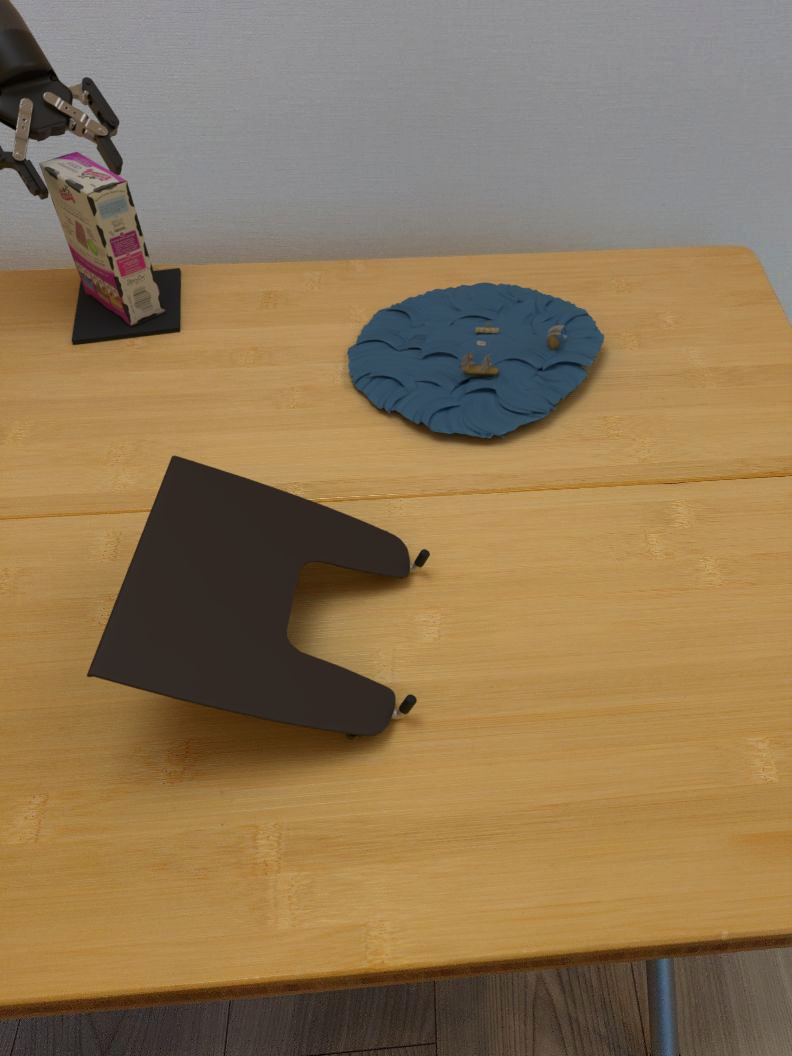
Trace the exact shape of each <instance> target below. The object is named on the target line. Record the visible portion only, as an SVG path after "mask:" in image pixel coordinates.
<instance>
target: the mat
mask: <svg viewBox="0 0 792 1056" xmlns="http://www.w3.org/2000/svg"><path fill="white" fill-rule="evenodd" d="M153 271H154V274H155V277H156V281H157V284H158V288H159V291H160V294H161V297H162V301H163V304H164V307H165V310H166V311H165V312H164V313H162V314H160V315H158V316H155V317H153V318H150V319H148V320H145V321H143V322H141V323H138V324H136V325H133V326H131V325H129V324H128V323H126V322H125V321H124V320H122V319H121V318H120V317H118V316H117V315H116V314H114V313H113V312H112V311H110V310H109V309H107V308H106V307H105V306H103V305H102V304H100V303H99V302H98V301H96V300H95V299H93V298H92V297H91V296H89V295H88V294H87V293H86V292H85V290H84V287H83V284H82V281H81V280H80V281H79V282H80V283H79V288H78V294H77V300H76V301H77V302H76V308H75V315H74V322H73V328H72V334H71V344H72V345H82V344H83V345H84V344H90V343H98V342H99V343H100V342H105V341H106V342H107V341H115V340H122V339H129V338H132V339H133V338H138V337H146V336H154V335H156V336H157V335H164V334H172V333H179V332H181V299H182V298H181V297H182V296H181V295H182V294H181V293H182V289H181V288H182V271H181V268H180V267H176V268H175V267H174V268H165V269H157V270H153Z"/></svg>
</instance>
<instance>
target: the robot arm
mask: <svg viewBox="0 0 792 1056" xmlns="http://www.w3.org/2000/svg"><path fill="white" fill-rule="evenodd" d="M74 100H78V101H79V102H80V103H81V104H82V105H83V106H88V108H89V109H90V111H91V112H92V114H93V115H94V117H95V118H96V120H97V121H98V122H97V121H96V120H94V119H92V118H90V117H89V115H88V114H87V113H86V112H84V111H83V110H81V109H79V108H77V107H75V106H73V101H74ZM0 123H1V124H2V125H4V126H6V127H8V128H10V129H12V130H13V131H15V135H14V141H13V148H12V151H6V150H5V151H4V149H3V148H2V146H1V144H0V171H2V170H5V169H11V170H14V171H15V172H16V173H17V174H18V175H19V177H20V179H21V180H22V183H23V184H24V185H25V187H26V188H27V190H28V192H29V194H31V195H32V196H33V197H36V196H37V197H38V198H39V199H40V200H41V201H43V200H46V199H49V195H50V193H49V190H48V187H47V184H46V183H45V181H44V180H43V178H42V177H41V176H40V173H39V172H38V171H37V169H36V167H35V166H34V163H33V162H32V161H31V159H29V158H28V159H27V153H28V148H29V141H30V140H33V141H37V142H38V143H39V142H42V141H45V140H47V139H49V138H50V137H60V136H63V135H65V134H66V132H69V133H71V134H73V135H74V136H76V137H78V138H85V139H86V140H88V141H90V142H91V143H93V144H95V145H96V150H97V151H98V154H99V156H100V157H101V159H102V160H103V162H104V163H105V165H106V167H107V169H108V170H109V171H111V172H113V173H114V174H116V175H118V176H121V174H122V170H123V165H124V161H123V157H122V155H121V154H120V153H119V151H118V149H117V147H116V145H115V144H114V142H113V140H112V137H115V136H117V134H118V128H119V126H120V119H119V118H118V116H117V114H116V113H115V111H114V110H113V108H112V107H111V106H110V103H108V100H107V99H106V98H105V97H104V95H103V94H102V92H101V90H100V89H99V87H98V86H97V85H96V83H95V82H94V80H93V79H92V78H90V77H88V76H85V77H83V78H82V79H81V82H80V83H78V84H75V85H71V86H67V85H65V84H64V83H63V82H62V81H61V80H60V79H59V77H58V74H57V73H56V71H55V69H54V67H53V66H52V64H51V63H50V61H49V59H48V57H46V54H45V53H44V51H43V50H42V48H41V46H40V44H39V43H38V41H37V39H36V37H35V36H34V35H33V32H32V31H31V30H30V28H29V26H28V24H27V22H26V21H25V19H24V18H23V16H22V15H21V13H20V12H19V10H18V8H16V6H15V5H14V4H13V2H11V0H0Z"/></svg>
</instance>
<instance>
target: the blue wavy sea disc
mask: <svg viewBox="0 0 792 1056" xmlns="http://www.w3.org/2000/svg"><path fill="white" fill-rule="evenodd" d="M604 340H605V334H604V333H602V331H601V330H600V329H599V327H598V326H597V321H596V320H594V318H593V317H592V316H591V315H590V314H589V312H588V311H587V309H584V308H581V307H578V306H577V305H576V303H572V302H570V300H564V299H563V298H561V297H559V296H558V297H555V296H553V295H551V294H546V293H543V292H540V291H538V290H537V289H532V288H530V287H522V286H520V285H517V284H511V283H509V284H506V283H501V282H500V283H499V284H495V283H491V282H477V283H473V284H472V285H471V284H469V285H468V284H461V285H458V286H456V287H454V286H450V287H446V288H435V289H433V290H427V291H426V292H424V293H422V294H418V295H416V296H410V297H407V298H405V299H404V300H402V301H401V302H397V303H395V304H391V306H389V307H385V308H382V309H379V310H378V311H376V313H374V314H373V315H372V318H371V319H370V320H369V322H368V323H367V324H364V326H363V327H362V329H361V331H360V334H358V335H357V336H356V342H355V344H353V345H351V346H350V347H348V348H347V357H348V363H347V367H348V371H349V377H353V378H352V381H351V383H352V384H353V385H354V386H355V387H356V389H357V390H359V392H363V393H364V394H365V396H366V397H367V399H368V400H369V401H370V402H371V403H372V404H373V405H374V407H377V408H378V410H382V409H383V408H384V409H385V411H386V413H387V415H390V414H391V411H396V412H397V413H399V414H401V415H402V416H403V417H405V418H406V419H408V420H409V421H410V422H412V423H415V424H417V425H419V424H420V423H421V422H422V423H423V425H425V426H426V427H427V428H429V430H430V431H431V432H436V433H444V434H447V435H452V434H455V433H457V434H461V435H467V436H472V437H478V438H481V439H484V438H487V439H492V437H493V436H494V435H495V436H497V437H500V438H502V439H503V438H505V436H504V435H505V434H507V433H509V432H513V431H515V430H517V428H519V427H520V426H524V425H526V424H529V423H532V422H536V421H538V420H543V419H544V418H545V417H548V416H549V415H550V412H551V411H556V410H558V409H559V407H554V406H555V405H556V404H557V405H558V403H559V402H560V401H561V400H565V398H566V397H568V395H569V394H571V393H572V392H573V391H575V390H576V389H577V388H578V387H579V385H581V384H582V383H583V382H584V380H585V379H586V377H587V375H588V374H589V372H588V371H586V369H584V367H586V368H590V367H592V364H593V362H595V361H596V360H595V359H597V355H598V354H599V352H601V349H602V346H603V344H604ZM583 366H584V367H583Z"/></svg>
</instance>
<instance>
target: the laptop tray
mask: <svg viewBox="0 0 792 1056" xmlns="http://www.w3.org/2000/svg"><path fill="white" fill-rule="evenodd" d="M165 470H166V471H165V473H164V475H163V478H162V481H161V484H160V486H159V489H158V491H157V494H156V496H155V499H154V500H153V501H154V502H153V504H152V506H151V509H150V511H149V514H148V516H147V519H146V522H145V525H144V527H143V529H142V532H141V535H140V537H139V540H138V541H137V544H136V547H135V550H134V552H133V555H132V557H131V560H130V562H129V564H128V568H127V570H126V573H125V576H124V578H123V581H122V583H121V586H120V588H119V591H118V593H117V596H116V599H115V602H114V604H113V606H112V608H111V611H110V614H109V617H108V618H107V619H108V620H107V621H106V624H105V627H104V630H103V632H102V634H101V637H100V640H99V643H98V645H97V647H96V650H95V652H94V655H93V658H92V661H91V663H90V665H89V669H88V671H87V674H86V677H87V678H97V679H100V680H104V681H108V682H111V683H115V684H118V685H121V686H126V687H129V688H132V689H136V690H139V691H143V692H148V693H151V694H154V695H159V696H163V697H166V698H170V699H174V700H178V701H182V702H185V703H190V704H194V705H198V706H202V707H205V708H206V707H207V708H211V709H215V710H220V711H224V712H229V713H233V714H237V715H241V716H245V717H248V718H249V717H250V718H255V719H259V720H263V721H267V722H273V723H277V724H283V725H288V726H293V727H300V728H304V729H311V730H317V731H321V732H322V731H323V732H329V733H335V734H343V735H345V737H346V739H347V740H348V741H353V740H355V739H357V738H365V737H374V736H378V735H380V734H381V733H383V732H384V731H385V730H386V729H387V727H388V726H389V725H390V722H391V720H402V719H403V718H405V717H407V715H408V714H410V712H411V711H412V709H413V708H414V706H415V705H416V703H418V699H417V697H416V696H415V695H414V694H411V693H409V694H406V696H405V698H404V699H403V700H402V702H401V703H400V705H399V706H398V708H395V707H396V701H397V699H396V698H397V697H396V693H395V692H394V690H393V689H391V688H390V687H388V686H386V685H384V684H382V683H380V682H378V681H376V680H373V679H371V678H369V677H367V676H364V675H361V674H360V673H358V672H355V671H353V670H350V669H348V668H346V667H344V666H341V665H338V664H335V663H333V662H330V661H327V660H325V659H322V658H319V657H316V656H313V655H311V654H308V653H306V652H303V651H301V650H299V648H296V647H295V646H294V645H293V644H292V642H291V641H290V639H289V636H288V630H289V629H288V628H289V623H290V622H289V621H290V617H291V611H292V607H293V603H294V602H293V601H294V598H295V593H296V589H297V585H298V580H299V576H300V572H301V570H302V569H303V567H304V566H306V565H308V564H312V563H318V564H324V565H328V566H333V567H336V568H341V569H345V570H349V571H354V572H357V573H358V572H359V573H364V574H369V575H376V576H382V577H387V578H393V579H406V578H407V577H408V576H409V575H410V574H415V573H418V572H419V571H421V570H422V568H423V567H424V566H425V564H426V562H427V561H428V560H429V558H430V556H431V553H430V551H429V550H428V549H426V548H422V549H421V550H420V551H419V553H418V555H417V556H416V558H415V560H414V562H413V563H411V558H410V552H409V550H408V546H407V545H406V544H405V542H403V540H402V539H401V538H400V537H398V536H397V535H395V534H393V533H391V532H389V531H387V530H385V529H382V528H380V527H378V526H375V525H373V524H371V523H368V522H366V521H364V520H362V519H359V518H357V517H354V516H352V515H350V514H347V513H344V512H341V511H339V510H337V509H334V508H332V507H329V506H326V505H324V504H321V503H320V502H319V503H318V502H316V501H313V500H310V499H308V498H305V497H302V496H300V495H297V494H294V493H290V492H288V491H285V490H283V489H279V488H277V487H274V486H271V485H268V484H265V483H262V482H259V481H257V480H253V479H250V478H248V477H244V476H241V475H238V474H235V473H232V472H229V471H225V470H222V469H220V468H217V467H213V466H210V465H207V464H204V463H200V462H198V461H195V460H191V459H188V458H185V457H182V456H178V455H172V456H171V457H170V461H169V463H168V465H167V467H166V469H165Z"/></svg>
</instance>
